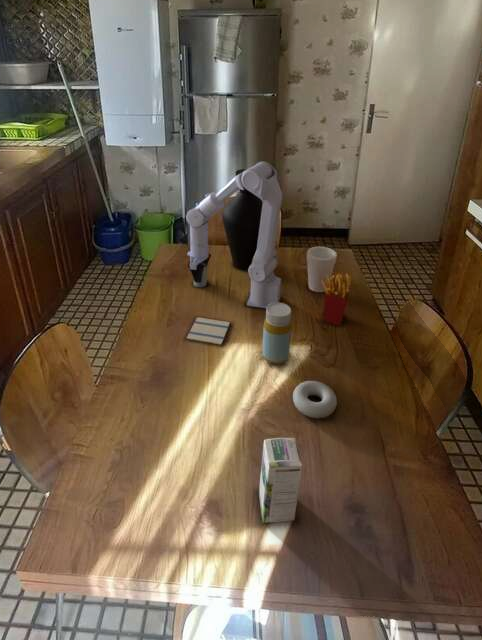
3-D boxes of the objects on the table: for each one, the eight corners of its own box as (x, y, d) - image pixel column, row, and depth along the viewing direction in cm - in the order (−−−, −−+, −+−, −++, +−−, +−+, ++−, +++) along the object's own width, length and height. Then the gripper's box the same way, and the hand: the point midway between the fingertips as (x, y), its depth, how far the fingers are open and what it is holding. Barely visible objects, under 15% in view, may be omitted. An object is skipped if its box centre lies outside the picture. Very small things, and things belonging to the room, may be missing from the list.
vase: (224, 252, 168) (225, 164, 153) (268, 255, 167) (274, 166, 152) (218, 274, 153) (219, 179, 138) (267, 278, 152) (273, 181, 136)
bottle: (287, 367, 111) (291, 319, 105) (260, 363, 113) (263, 315, 106) (289, 349, 117) (293, 303, 111) (263, 346, 119) (266, 300, 112)
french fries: (343, 328, 126) (350, 284, 120) (315, 321, 129) (320, 278, 123) (347, 312, 134) (354, 269, 127) (320, 306, 136) (326, 264, 130)
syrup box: (258, 492, 81) (261, 438, 75) (289, 490, 81) (295, 436, 75) (262, 524, 76) (267, 468, 70) (296, 521, 76) (303, 465, 70)
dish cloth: (229, 323, 128) (229, 322, 128) (221, 344, 119) (221, 343, 119) (197, 318, 130) (197, 317, 130) (186, 339, 121) (186, 337, 121)
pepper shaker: (208, 281, 149) (207, 260, 145) (204, 288, 145) (204, 266, 142) (195, 279, 150) (195, 258, 146) (191, 286, 146) (191, 264, 142)
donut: (333, 427, 95) (338, 394, 103) (334, 416, 93) (340, 383, 102) (288, 415, 98) (296, 383, 106) (289, 403, 96) (297, 373, 105)
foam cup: (299, 289, 145) (302, 254, 139) (309, 277, 152) (313, 244, 147) (326, 297, 141) (331, 262, 135) (336, 285, 148) (340, 251, 142)
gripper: (194, 231, 148) (195, 266, 154) (180, 250, 135) (181, 287, 141) (214, 233, 146) (214, 268, 152) (201, 253, 134) (202, 290, 140)
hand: (199, 278), depth 147 cm, fingers closed on pepper shaker, 4 cm apart
